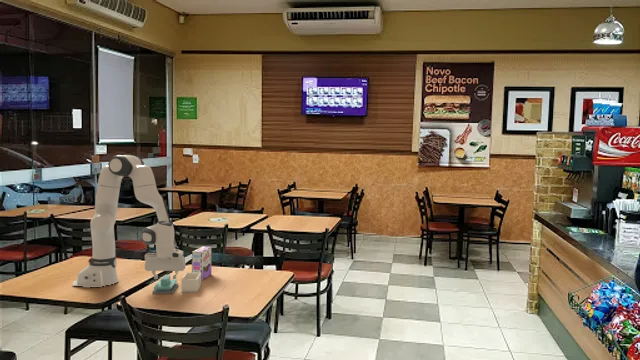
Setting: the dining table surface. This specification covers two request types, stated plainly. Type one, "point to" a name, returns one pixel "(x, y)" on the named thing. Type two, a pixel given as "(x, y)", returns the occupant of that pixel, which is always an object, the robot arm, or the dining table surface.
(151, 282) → the dining table surface
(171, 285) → the lid
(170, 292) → the mat
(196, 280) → the tub
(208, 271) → the candy box
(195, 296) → the dining table surface
